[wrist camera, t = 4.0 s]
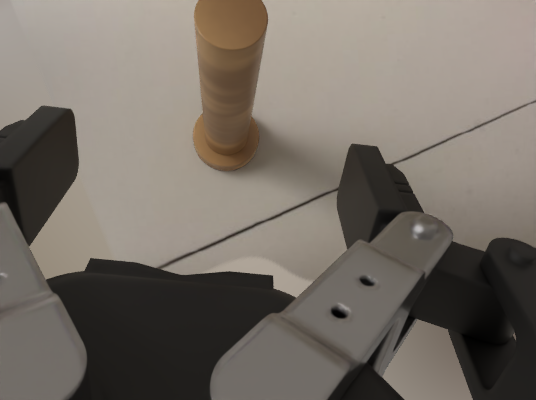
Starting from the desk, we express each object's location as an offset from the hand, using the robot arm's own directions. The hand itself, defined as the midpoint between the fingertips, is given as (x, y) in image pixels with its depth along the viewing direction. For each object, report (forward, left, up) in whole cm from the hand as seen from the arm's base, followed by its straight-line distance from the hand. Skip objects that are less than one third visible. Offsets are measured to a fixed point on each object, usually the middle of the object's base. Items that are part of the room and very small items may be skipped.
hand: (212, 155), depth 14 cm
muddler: (+3, +5, -14) cm, 15 cm away
